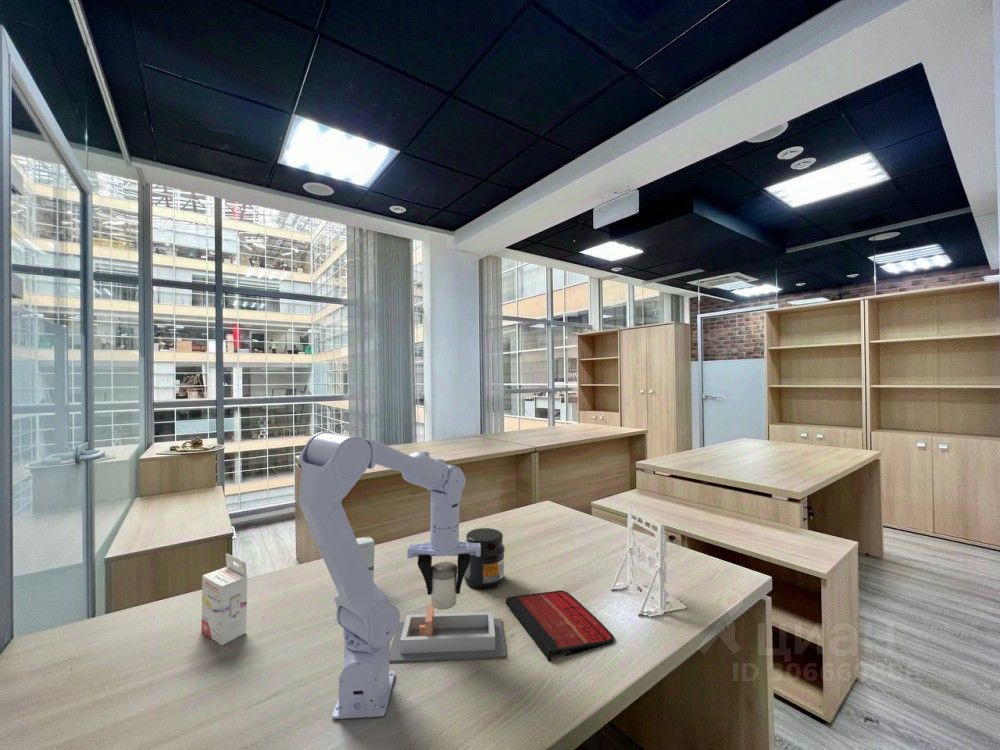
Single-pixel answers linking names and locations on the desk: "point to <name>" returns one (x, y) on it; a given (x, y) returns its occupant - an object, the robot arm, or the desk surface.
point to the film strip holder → (658, 555)
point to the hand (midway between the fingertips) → (444, 591)
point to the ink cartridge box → (225, 601)
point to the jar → (444, 585)
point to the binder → (559, 623)
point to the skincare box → (367, 552)
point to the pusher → (428, 623)
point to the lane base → (449, 638)
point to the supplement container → (486, 559)
